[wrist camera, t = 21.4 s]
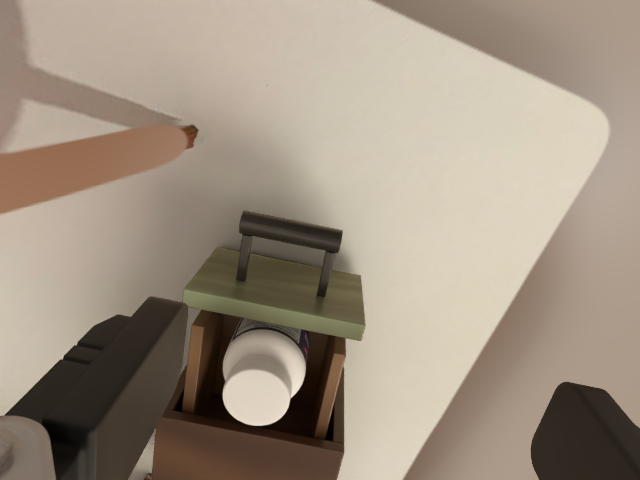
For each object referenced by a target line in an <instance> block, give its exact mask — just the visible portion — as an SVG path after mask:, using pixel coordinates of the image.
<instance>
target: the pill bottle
mask: <svg viewBox="0 0 640 480" xmlns="http://www.w3.org/2000/svg"><path fill="white" fill-rule="evenodd" d="M310 333H311V331H307V330H302V329H297V328H292V327H287V326H282V325H277V324H272V323H267V322H262V321H257V320H252V319H247V318H242V317H241V319H240V321H239V324H238V326H237V328H236V330H235V333H234V335H233V337H232V339H231V342H230V344H229V346H228V348H227V351H226V353H225V356H224V360H223V375H224V379H225V381H226V382H225V385H224V388H223V402H224V405H225V407H226V409H227V410H228V412H229V413H230V414H231V415H232V416H233V417H234V418H235V419H237V420H239V421H241V422H243V423H245V424H248V425H253V426H263V425H269V424H272V423H274V422H276V421H278V420H279V419H280V418H281V417H282V416H283V415H284V414H285V413H286V411H287V409H288V407H289V403H290V398H291V397H293V396H294V395H295V394H296V393H297V392H298V390H299V389H300V387H301V385H302V383H303V381H304V377H305V372H306V365H307V357H308V349H309V341H310Z"/></svg>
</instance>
